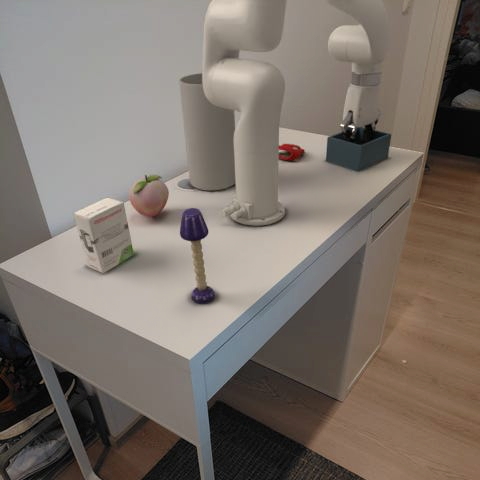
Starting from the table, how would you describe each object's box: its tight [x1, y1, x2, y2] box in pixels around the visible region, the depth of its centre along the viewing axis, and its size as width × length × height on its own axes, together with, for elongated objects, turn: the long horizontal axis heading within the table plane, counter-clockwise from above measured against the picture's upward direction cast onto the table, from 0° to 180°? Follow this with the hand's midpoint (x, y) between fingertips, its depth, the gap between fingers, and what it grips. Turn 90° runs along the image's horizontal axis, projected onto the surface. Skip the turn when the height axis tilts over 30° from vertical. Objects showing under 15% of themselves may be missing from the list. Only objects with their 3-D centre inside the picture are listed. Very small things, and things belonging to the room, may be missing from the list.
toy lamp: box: [179, 207, 216, 305], centre depth 81 cm, size 5×5×17 cm
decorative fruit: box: [128, 174, 170, 218], centre depth 110 cm, size 9×8×10 cm
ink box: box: [72, 197, 135, 274], centre depth 94 cm, size 9×5×12 cm, turn 143°
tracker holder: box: [279, 143, 305, 162], centre depth 139 cm, size 12×4×10 cm
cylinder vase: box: [178, 72, 236, 192], centre depth 120 cm, size 12×12×25 cm
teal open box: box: [325, 126, 392, 172], centre depth 134 cm, size 13×11×7 cm
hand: (358, 148), depth 134 cm, fingers closed on creature, 7 cm apart
